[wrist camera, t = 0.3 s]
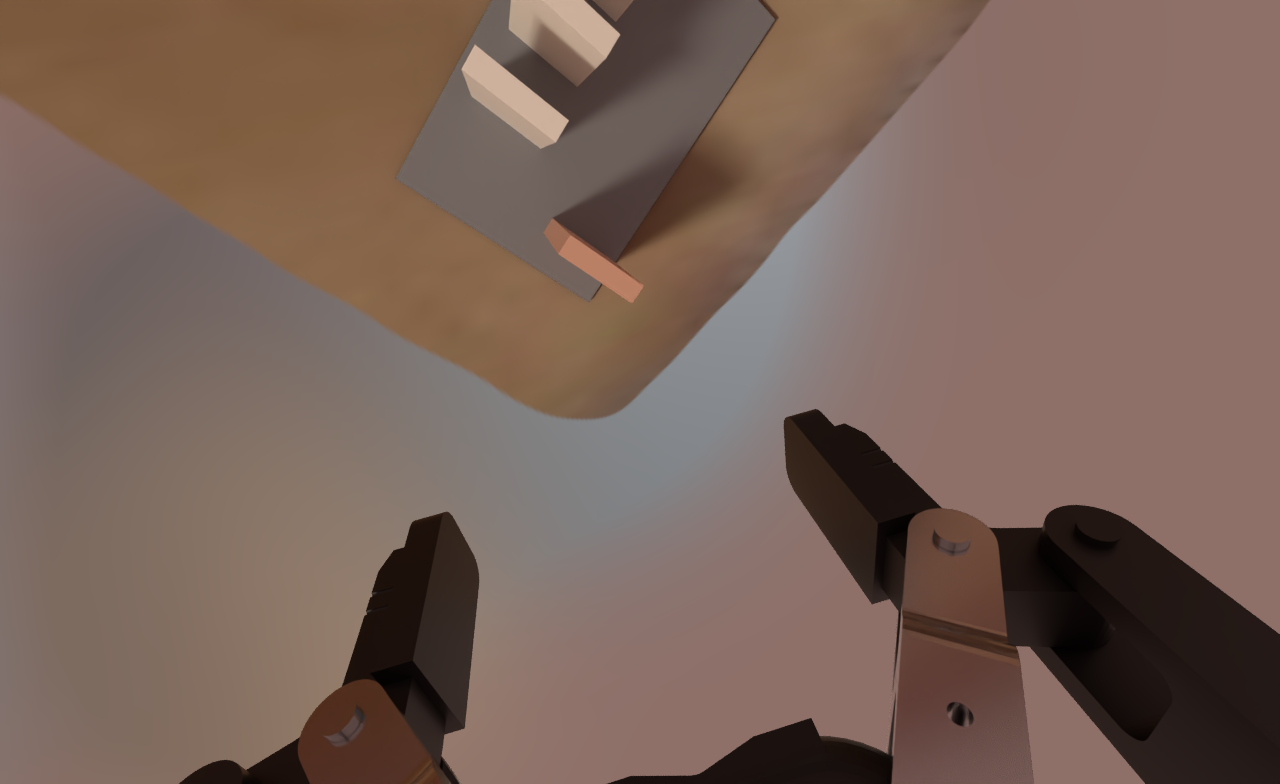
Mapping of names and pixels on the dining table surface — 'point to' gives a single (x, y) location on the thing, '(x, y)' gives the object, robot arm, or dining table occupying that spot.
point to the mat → (584, 129)
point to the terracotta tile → (592, 261)
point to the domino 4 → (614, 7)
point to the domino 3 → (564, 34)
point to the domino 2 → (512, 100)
